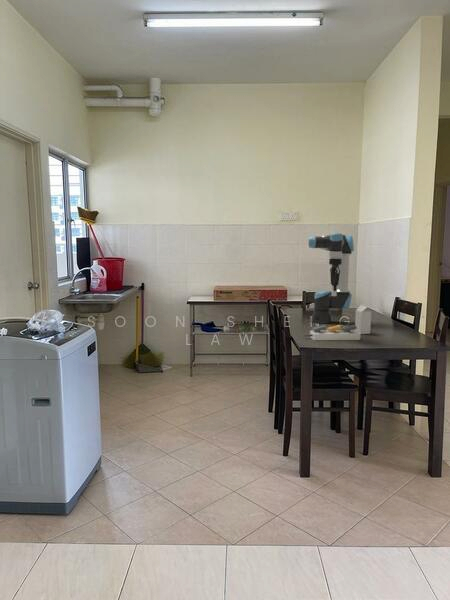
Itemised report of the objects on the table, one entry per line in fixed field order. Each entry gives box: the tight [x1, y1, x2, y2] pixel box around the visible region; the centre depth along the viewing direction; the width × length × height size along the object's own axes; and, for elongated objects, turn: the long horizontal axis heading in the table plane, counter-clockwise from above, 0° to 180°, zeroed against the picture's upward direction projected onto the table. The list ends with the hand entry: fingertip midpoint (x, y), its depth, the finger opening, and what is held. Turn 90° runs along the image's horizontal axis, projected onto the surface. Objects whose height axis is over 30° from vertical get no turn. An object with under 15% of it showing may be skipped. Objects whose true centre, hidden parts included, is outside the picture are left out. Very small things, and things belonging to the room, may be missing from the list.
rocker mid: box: [326, 324, 342, 332], centre depth 273 cm, size 5×8×2 cm, turn 94°
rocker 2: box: [341, 324, 357, 332], centre depth 274 cm, size 5×8×2 cm, turn 94°
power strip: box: [303, 329, 361, 341], centre depth 272 cm, size 10×34×5 cm, turn 94°
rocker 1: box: [311, 324, 328, 332], centre depth 273 cm, size 5×8×2 cm, turn 94°
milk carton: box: [354, 303, 372, 335], centre depth 287 cm, size 7×7×19 cm
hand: (334, 295), depth 274 cm, fingers closed
